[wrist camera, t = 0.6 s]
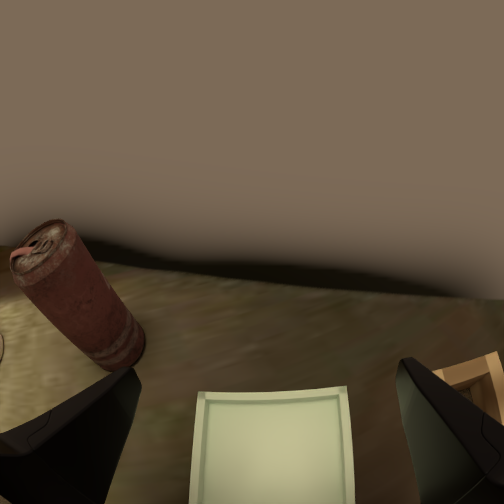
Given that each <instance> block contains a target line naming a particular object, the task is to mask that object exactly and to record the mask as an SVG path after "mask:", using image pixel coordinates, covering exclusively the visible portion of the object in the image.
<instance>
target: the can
mask: <svg viewBox="0 0 504 504" xmlns="http://www.w3.org/2000/svg"><path fill="white" fill-rule="evenodd" d="M10 269H11V271H12V274H13V278H14V282H15V283H16V284H17V285H18V287H19V288H20V289H21V290H22V291H23V292H24V294H25V295H26V296H27V297H28V298H29V299H30V300H31V301H32V303H33V304H34V305H35V306H36V307H37V308H38V309H39V310H40V311H41V312H42V313H43V314H44V315H45V316H46V318H47V319H48V320H49V321H50V322H51V323H52V324H53V325H54V326H55V327H56V328H57V329H58V330H59V331H60V332H62V333H63V334H64V335H65V336H66V337H67V338H68V339H69V340H70V341H71V342H72V343H73V344H74V345H75V346H77V347H78V348H79V349H80V350H81V351H82V352H83V353H84V354H86V355H87V356H88V357H89V358H90V359H91V360H93V361H94V362H95V363H96V364H97V365H99V366H100V367H101V368H103V369H105V370H108V371H116V370H118V369H119V368H121V367H124V366H125V367H130V366H131V365H132V364H133V363H134V362H136V361H137V359H138V358H139V356H140V355H141V352H142V349H143V346H144V333H143V330H142V327H141V326H140V325H139V323H138V322H137V321H136V320H135V318H134V317H133V316H132V314H131V313H130V312H129V310H128V309H127V308H126V306H125V305H124V304H123V302H122V301H121V299H120V298H119V297H118V295H117V294H116V293H115V291H114V290H113V288H112V287H111V285H110V284H109V283H108V281H107V280H106V278H105V277H104V275H103V274H102V272H101V271H100V269H99V268H98V266H97V265H96V263H95V262H94V260H93V258H92V257H91V255H90V254H89V252H88V250H87V249H86V247H85V246H84V244H83V242H82V241H81V239H80V237H79V236H78V234H77V232H76V231H75V229H74V228H73V226H71V225H69V224H68V223H66V222H65V221H64V220H62V219H59V218H58V219H52V220H49V221H47V222H44V223H43V224H41V225H39V226H38V227H36V228H35V229H33V230H32V231H31V232H30V233H29V234H28V235H27V236H26V237H25V238H24V239H23V240H22V241H21V242H20V243H19V245H18V246H17V248H16V249H15V251H14V252H12V254H11V257H10Z"/></svg>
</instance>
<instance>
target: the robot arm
mask: <svg viewBox="0 0 504 504" xmlns="http://www.w3.org/2000/svg"><path fill="white" fill-rule="evenodd" d="M396 387H397V393H398V398H399V404H400V411H401V417H402V423H403V427H404V431H405V434H406V438H407V442H408V446H409V450H410V454H411V458H412V462H413V466H414V471H415V475H416V480H417V485H418V490H419V495H420V500H421V504H504V425H502V424H501V423H499V422H498V421H497V420H495V419H494V418H492V417H491V416H490V415H489V414H487V413H486V412H483V410H482V409H481V408H479V407H478V406H477V405H475V404H474V403H473V402H471V401H470V400H469V399H467V398H466V397H465V396H464V395H462V394H461V393H460V392H458V391H457V390H456V389H454V388H453V387H452V386H450V385H449V384H448V383H446V382H445V381H444V380H442V379H441V378H440V377H438V376H437V375H436V374H434V373H433V372H432V371H430V370H429V369H428V368H426V367H425V366H424V365H422V364H421V363H420V362H418V361H417V360H416V359H414V358H413V357H409V358H403V359H401V360H400V362H399V365H398V370H397V374H396ZM141 389H142V385H141V382H140V380H139V378H138V376H137V374H136V372H135V370H134V369H133V368H132V367H125V366H124V367H121V368H119V369H118V370H116V371H114V372H113V373H111V374H109V375H108V376H106V377H105V378H103V379H101V380H100V381H98V382H96V383H95V384H93V385H91V386H90V387H88V388H86V389H85V390H83V391H81V392H80V393H78V394H76V395H75V396H73V397H71V398H70V399H68V400H66V401H65V402H63V403H61V404H59V405H58V406H56V407H54V408H53V409H52V410H49V411H47V412H46V413H44V414H42V415H40V416H38V417H37V418H35V419H33V420H31V421H28V422H26V423H24V424H22V425H20V426H18V427H15V428H13V429H11V430H9V431H6V432H4V433H0V504H104V503H105V500H106V497H107V494H108V491H109V488H110V485H111V482H112V479H113V476H114V473H115V470H116V467H117V465H118V462H119V459H120V456H121V453H122V451H123V448H124V445H125V442H126V440H127V437H128V434H129V431H130V429H131V426H132V423H133V420H134V416H135V412H136V408H137V404H138V401H139V397H140V393H141Z"/></svg>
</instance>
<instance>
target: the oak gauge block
mask: <svg viewBox="0 0 504 504" xmlns="http://www.w3.org/2000/svg"><path fill="white" fill-rule="evenodd" d="M432 372H433V373H434V374H436V375H437V376H438V377H440V378H441V379H442V380H444V381H445V382H446V383H448V384H449V385H450V386H452V387H453V388H454V389H456V390H457V391H461V390H464V389H467V388H470V392H471V396H472V400H473V403H474V404H475V405H477V406H478V407H479V408H481V409H482V410H483V412H486V413H487V414H489V415H490V416H491V417H492V418H494V419H495V420H497V421H498V422H499V423H501V424H502V425H504V373H503V369H502V366H501V363H500V360H499V357H498V354H497V351H496V352H493V353H490V354H488V355H485V356H482V357H479V358H476V359H473V360H470V361H467V362H464V363H461V364H457V365H454V366H450V367H447V368H443V369H440V370H436V371H432Z"/></svg>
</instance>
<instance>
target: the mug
mask: <svg viewBox="0 0 504 504" xmlns="http://www.w3.org/2000/svg"><path fill="white" fill-rule="evenodd" d="M2 354H3V339H2V336H1V334H0V361H1V358H2Z"/></svg>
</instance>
